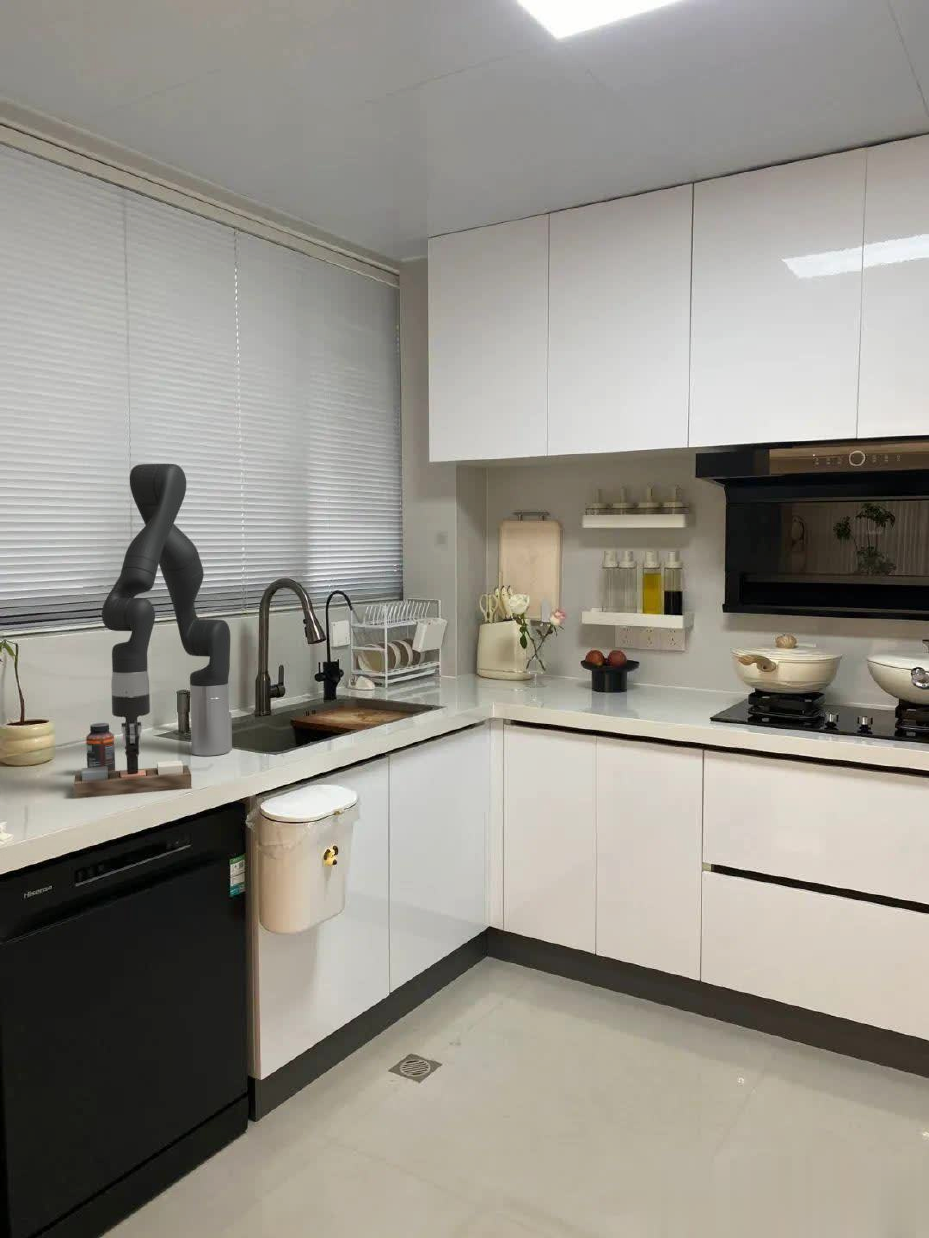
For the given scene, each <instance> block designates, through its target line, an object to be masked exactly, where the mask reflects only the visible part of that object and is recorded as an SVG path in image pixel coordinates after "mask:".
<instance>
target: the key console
mask: <svg viewBox="0 0 929 1238" xmlns="http://www.w3.org/2000/svg"><path fill="white" fill-rule="evenodd" d="M138 770H145V772H146V776H141V777H129V778H121V777H120V772H121V771H127V769H124V770H121V769H120V770H115V771H108V779H105V780H93V781H82V773H75V774H74V780H73V793H74V794H73V795H74V797H73V798H74V799H82V798H84V797H85V798H93V797H94V798H95V797H104V796H117V795H130V794H138V793H139V794H140V793H149V792H150V793H151V792H152V791H153V792H162V791H163V792H164V791H175V790H185V788H187V789H191V788H192V772H191V769H190V768H189V765H187V764H186V765H185V764H184V765H183V773H178V774H166V775H158V773H157V767H149V768H148V767H147V768H138ZM190 787H191V788H190ZM153 792H152V793H153ZM85 798H84V799H85Z"/></svg>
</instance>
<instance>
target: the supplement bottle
mask: <svg viewBox="0 0 929 1238" xmlns="http://www.w3.org/2000/svg"><path fill="white" fill-rule="evenodd" d="M89 730H90V733H89V734H87V736H86V738H85V742H86V744H85V745H86V766H87V767H86V768H91V767H104V766H108V771H116V751H115V735H114V734H113V732H110V724H109V723H108V722H96V723H92V724H90V725H89Z"/></svg>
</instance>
